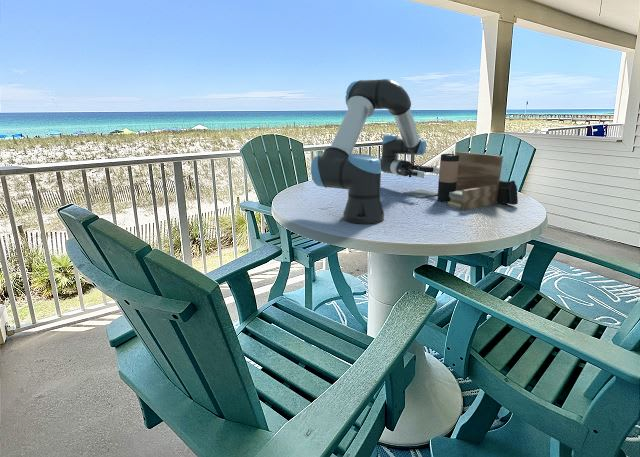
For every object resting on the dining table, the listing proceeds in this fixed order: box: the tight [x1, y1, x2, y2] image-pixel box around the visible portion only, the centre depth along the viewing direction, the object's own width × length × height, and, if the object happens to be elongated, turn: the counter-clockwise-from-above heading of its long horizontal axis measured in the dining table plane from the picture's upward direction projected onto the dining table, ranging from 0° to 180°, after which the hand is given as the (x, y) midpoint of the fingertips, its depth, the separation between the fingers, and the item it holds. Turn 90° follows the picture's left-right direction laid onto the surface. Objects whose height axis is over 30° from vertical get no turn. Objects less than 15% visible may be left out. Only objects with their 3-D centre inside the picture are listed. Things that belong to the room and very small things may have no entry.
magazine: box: [497, 180, 519, 206], centre depth 163 cm, size 17×3×30 cm
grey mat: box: [402, 189, 438, 199], centre depth 176 cm, size 12×12×1 cm
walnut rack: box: [455, 151, 504, 211], centre depth 158 cm, size 21×22×20 cm
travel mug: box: [437, 153, 459, 203], centre depth 161 cm, size 8×8×20 cm
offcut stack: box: [447, 188, 472, 210], centre depth 155 cm, size 16×8×6 cm, turn 125°
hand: (434, 173), depth 167 cm, fingers open, 13 cm apart
